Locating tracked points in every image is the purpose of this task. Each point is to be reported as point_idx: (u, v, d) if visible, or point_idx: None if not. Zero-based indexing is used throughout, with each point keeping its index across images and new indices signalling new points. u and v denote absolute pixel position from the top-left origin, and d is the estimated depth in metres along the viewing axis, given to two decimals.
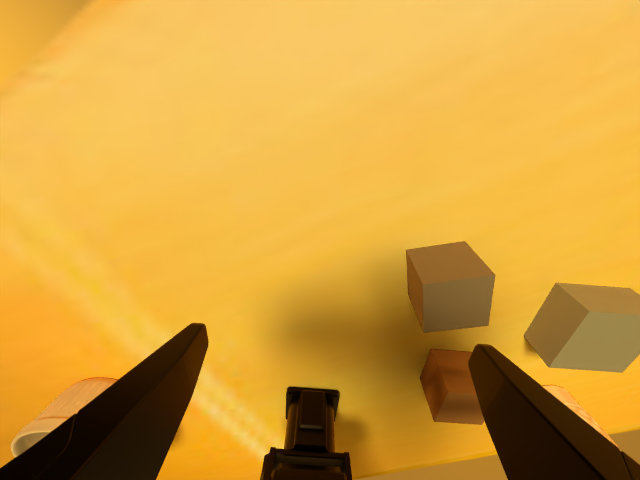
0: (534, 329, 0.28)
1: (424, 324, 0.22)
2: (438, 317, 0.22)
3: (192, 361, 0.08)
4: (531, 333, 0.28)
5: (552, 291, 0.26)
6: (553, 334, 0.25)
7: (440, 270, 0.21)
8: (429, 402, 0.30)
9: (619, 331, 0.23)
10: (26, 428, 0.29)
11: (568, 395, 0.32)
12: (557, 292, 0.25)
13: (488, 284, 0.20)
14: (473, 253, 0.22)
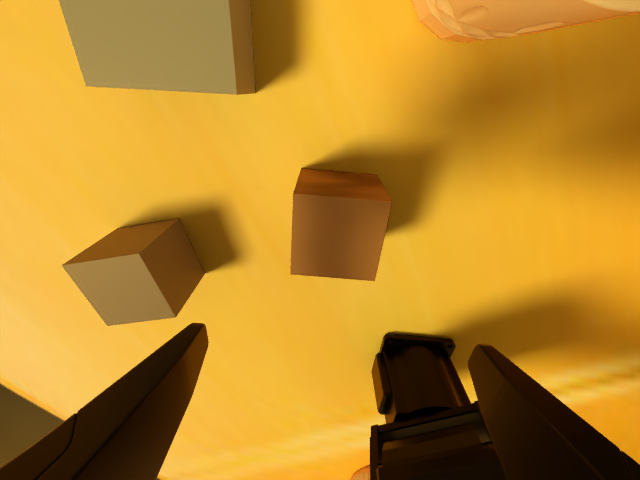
0: None
1: (162, 318, 0.18)
2: (146, 307, 0.18)
3: (192, 361, 0.08)
4: None
5: None
6: None
7: None
8: None
9: None
10: None
11: None
12: None
13: (77, 268, 0.16)
14: None
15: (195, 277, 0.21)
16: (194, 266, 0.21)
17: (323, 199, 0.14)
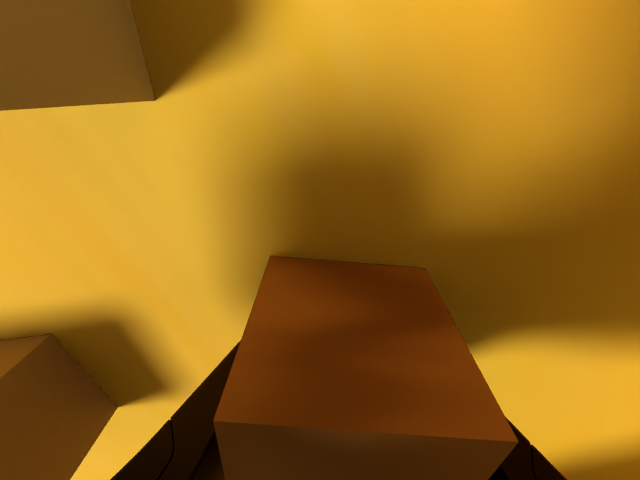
0: None
1: None
2: None
3: None
4: None
5: None
6: None
7: None
8: None
9: None
10: None
11: None
12: None
13: None
14: None
15: (90, 430, 0.12)
16: (89, 409, 0.12)
17: (308, 434, 0.05)
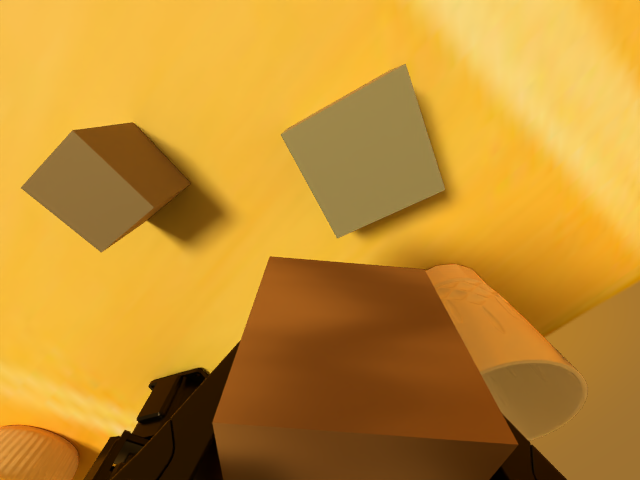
0: None
1: (88, 240, 0.16)
2: (89, 224, 0.16)
3: None
4: None
5: None
6: None
7: None
8: None
9: (358, 135, 0.15)
10: None
11: (455, 270, 0.22)
12: None
13: (82, 148, 0.14)
14: None
15: (141, 223, 0.20)
16: (151, 215, 0.20)
17: (308, 436, 0.05)
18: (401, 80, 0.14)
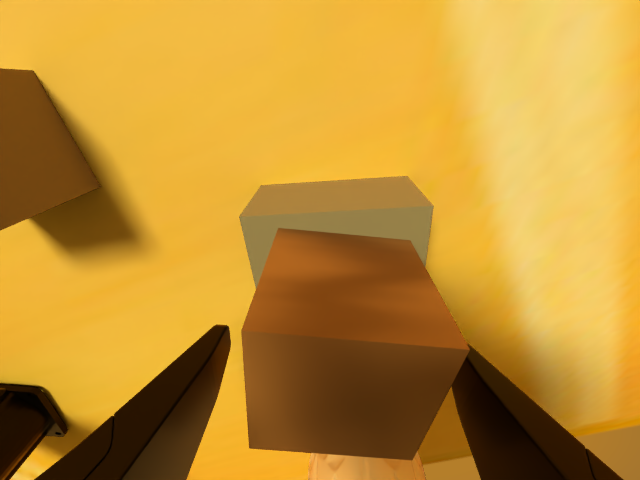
0: None
1: None
2: None
3: (218, 363, 0.08)
4: None
5: None
6: None
7: None
8: None
9: None
10: None
11: None
12: None
13: None
14: None
15: None
16: None
17: (313, 342, 0.06)
18: (419, 220, 0.10)
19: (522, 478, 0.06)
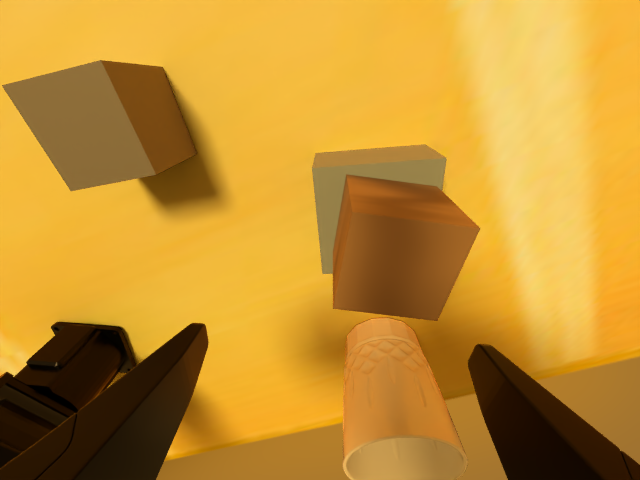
0: None
1: (60, 173, 0.14)
2: (71, 158, 0.14)
3: (192, 361, 0.08)
4: None
5: None
6: None
7: None
8: None
9: None
10: None
11: (401, 328, 0.24)
12: None
13: (103, 83, 0.12)
14: None
15: None
16: None
17: (391, 221, 0.11)
18: (437, 169, 0.15)
19: None
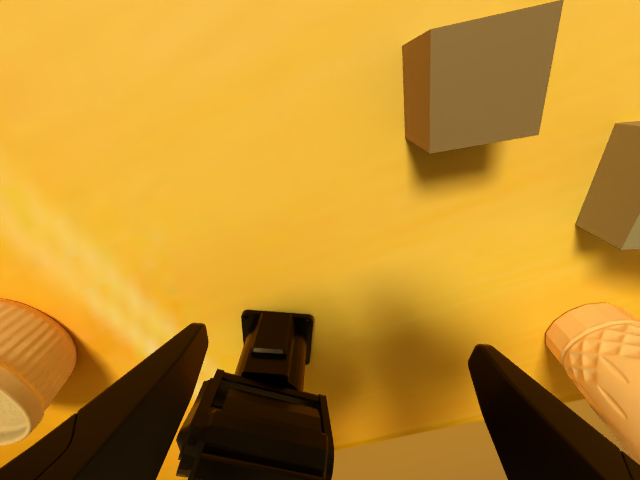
0: (588, 207, 0.19)
1: (431, 133, 0.13)
2: (455, 115, 0.13)
3: (192, 361, 0.08)
4: (585, 215, 0.20)
5: (610, 138, 0.17)
6: (622, 199, 0.17)
7: None
8: None
9: None
10: None
11: (628, 313, 0.23)
12: (618, 135, 0.17)
13: (548, 27, 0.11)
14: None
15: None
16: None
17: None
18: None
19: None
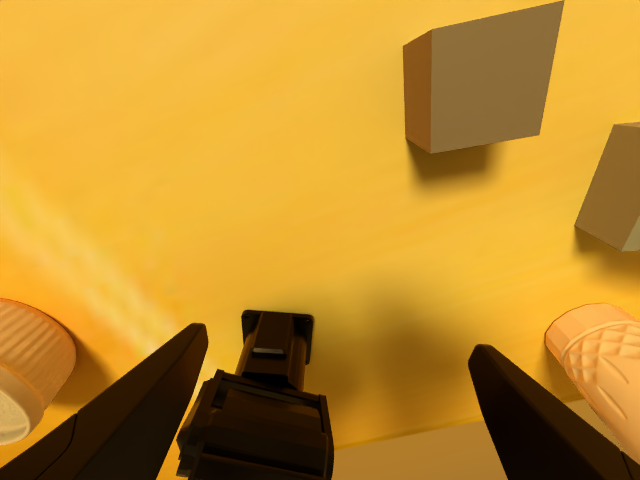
0: (588, 208, 0.19)
1: (432, 133, 0.13)
2: (456, 115, 0.13)
3: (192, 361, 0.08)
4: (585, 216, 0.20)
5: (610, 139, 0.17)
6: (622, 200, 0.17)
7: None
8: None
9: None
10: None
11: (628, 314, 0.23)
12: (618, 136, 0.17)
13: (549, 27, 0.11)
14: None
15: None
16: None
17: None
18: None
19: None
